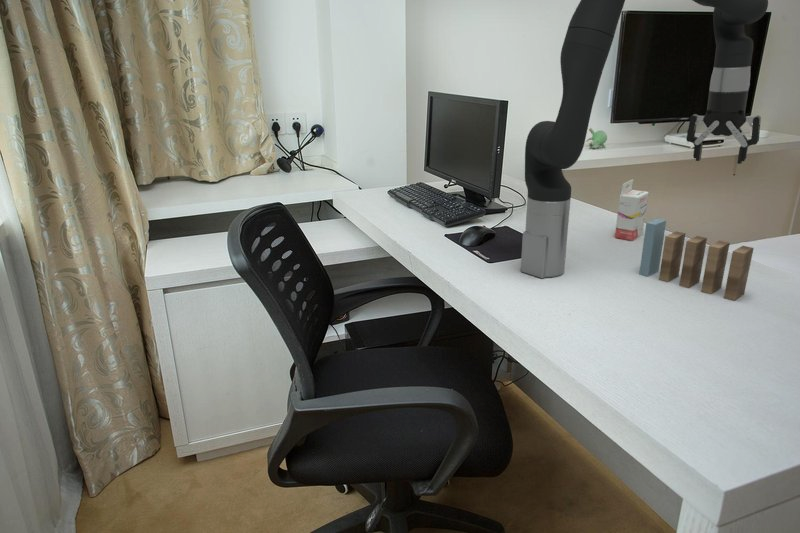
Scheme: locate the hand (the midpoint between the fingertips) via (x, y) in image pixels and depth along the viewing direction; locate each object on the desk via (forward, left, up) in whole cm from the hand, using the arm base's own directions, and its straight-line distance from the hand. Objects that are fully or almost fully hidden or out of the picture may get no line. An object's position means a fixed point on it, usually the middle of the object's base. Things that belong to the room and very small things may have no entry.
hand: (718, 161), depth 133 cm
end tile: (-21, +3, -23) cm, 31 cm away
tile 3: (-21, -6, -23) cm, 31 cm away
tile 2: (-21, -11, -23) cm, 32 cm away
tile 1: (-21, -15, -23) cm, 34 cm away
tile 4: (-21, -2, -23) cm, 31 cm away
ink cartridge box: (+1, +20, -23) cm, 30 cm away
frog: (+122, +105, -23) cm, 163 cm away
